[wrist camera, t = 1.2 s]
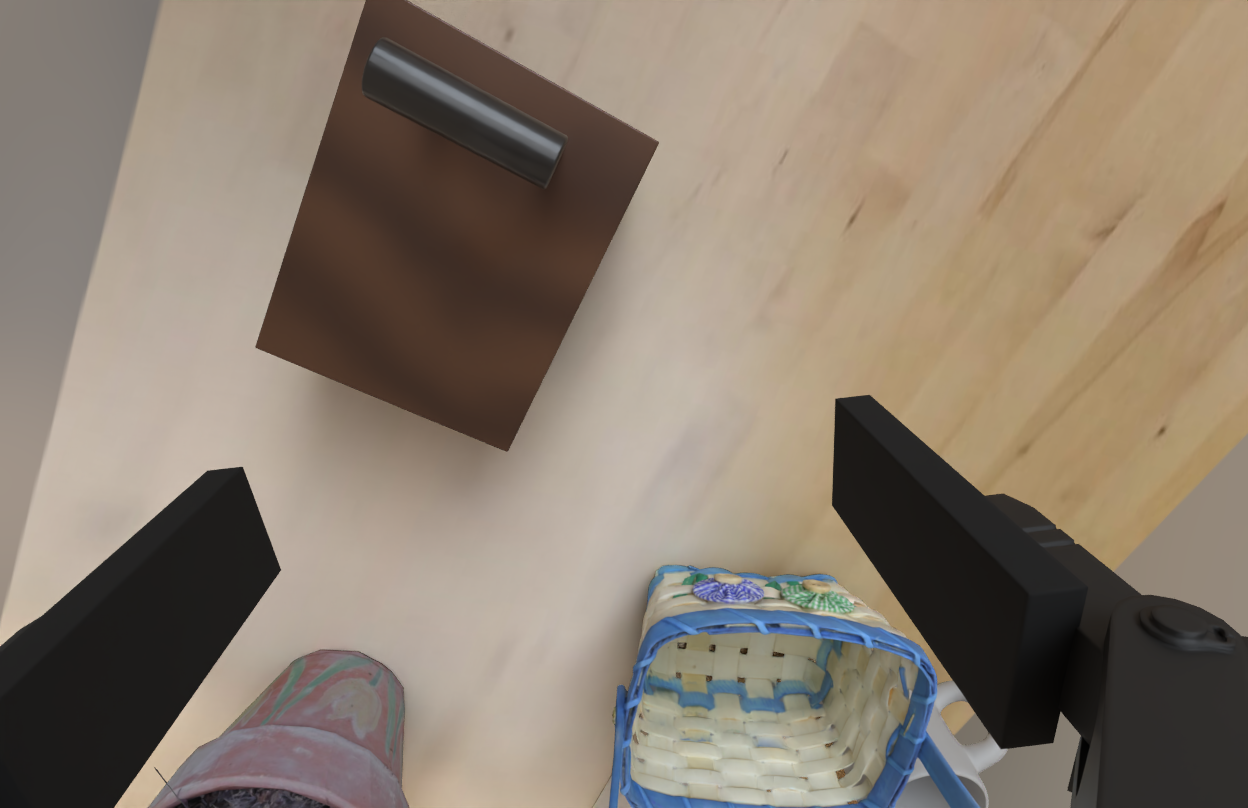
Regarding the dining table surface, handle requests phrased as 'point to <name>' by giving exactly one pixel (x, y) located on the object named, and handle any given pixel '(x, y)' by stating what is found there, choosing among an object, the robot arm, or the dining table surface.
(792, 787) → the basket
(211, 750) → the potted plant
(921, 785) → the mug
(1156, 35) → the dining table surface
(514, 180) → the lid
